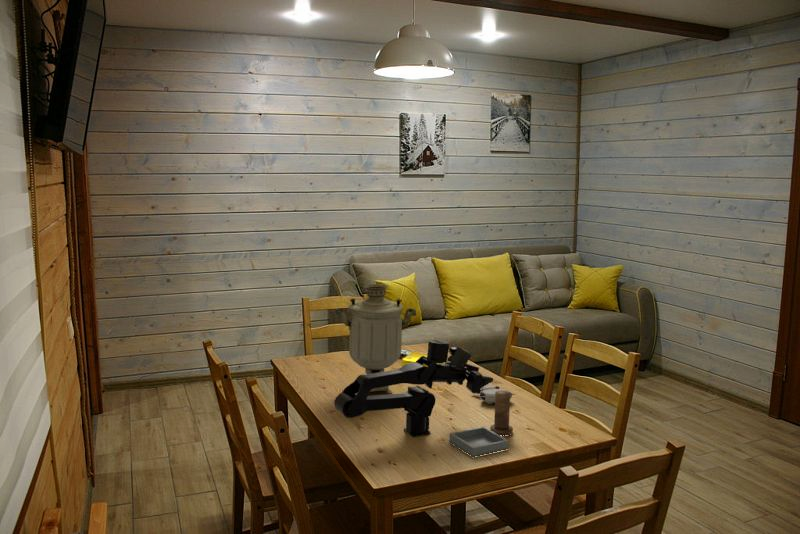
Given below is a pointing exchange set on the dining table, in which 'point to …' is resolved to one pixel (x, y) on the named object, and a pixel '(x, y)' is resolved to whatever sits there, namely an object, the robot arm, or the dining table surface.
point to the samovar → (375, 330)
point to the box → (478, 441)
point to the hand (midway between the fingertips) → (485, 374)
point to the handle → (502, 414)
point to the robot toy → (490, 393)
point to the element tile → (413, 358)
